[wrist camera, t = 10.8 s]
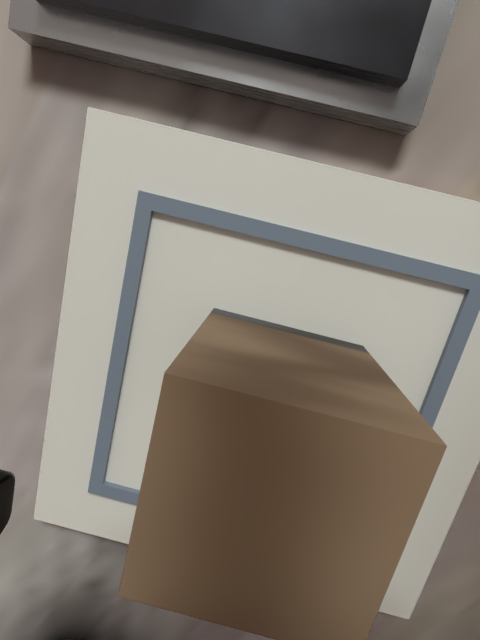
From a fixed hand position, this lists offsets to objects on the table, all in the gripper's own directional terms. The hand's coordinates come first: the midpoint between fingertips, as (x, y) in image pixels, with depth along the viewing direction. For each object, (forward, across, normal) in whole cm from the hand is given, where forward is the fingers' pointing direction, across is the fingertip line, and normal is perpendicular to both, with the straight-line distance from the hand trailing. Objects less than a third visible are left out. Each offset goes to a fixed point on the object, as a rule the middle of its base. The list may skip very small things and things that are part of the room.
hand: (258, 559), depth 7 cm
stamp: (+7, 0, 0) cm, 7 cm away
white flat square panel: (+7, 0, 0) cm, 7 cm away
